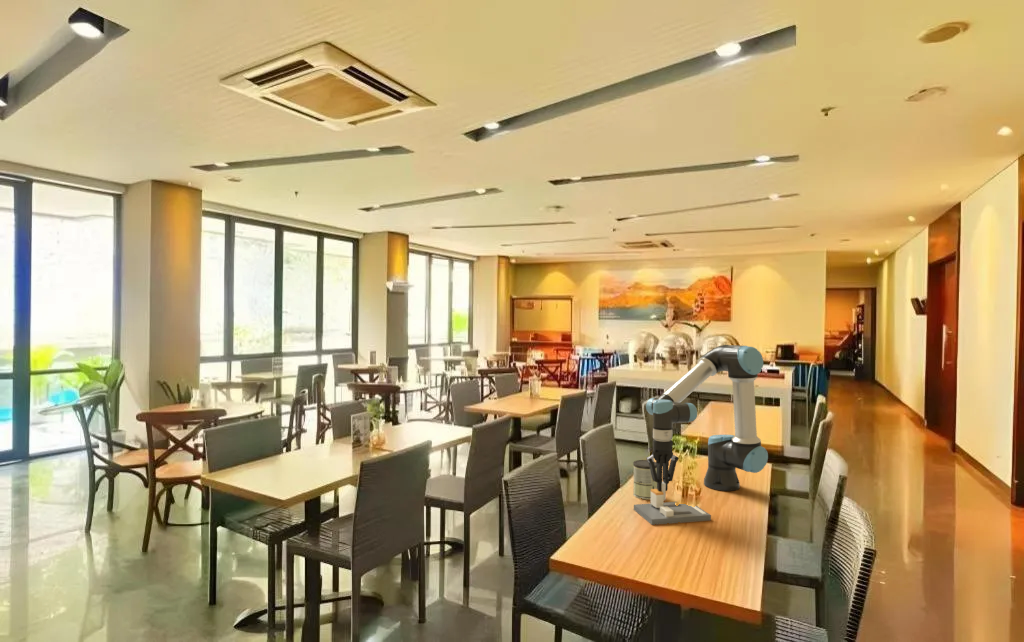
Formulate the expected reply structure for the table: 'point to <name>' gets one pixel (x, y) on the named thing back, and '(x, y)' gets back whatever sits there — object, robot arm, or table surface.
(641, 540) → the table surface
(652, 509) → the panel
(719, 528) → the table surface
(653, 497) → the handle
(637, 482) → the coffee can
